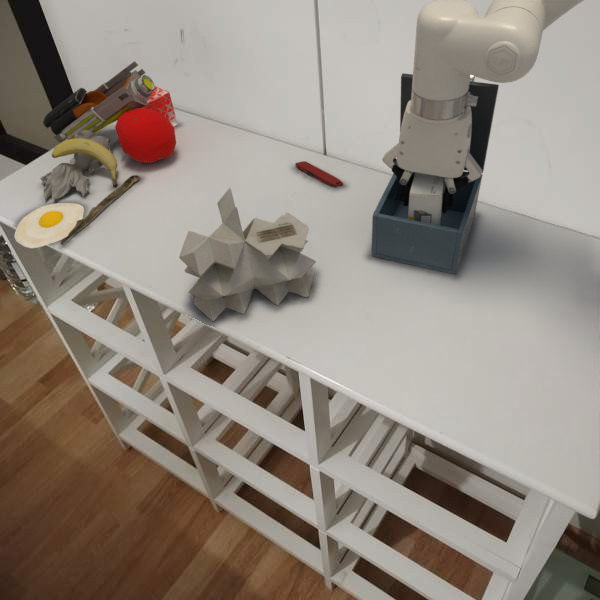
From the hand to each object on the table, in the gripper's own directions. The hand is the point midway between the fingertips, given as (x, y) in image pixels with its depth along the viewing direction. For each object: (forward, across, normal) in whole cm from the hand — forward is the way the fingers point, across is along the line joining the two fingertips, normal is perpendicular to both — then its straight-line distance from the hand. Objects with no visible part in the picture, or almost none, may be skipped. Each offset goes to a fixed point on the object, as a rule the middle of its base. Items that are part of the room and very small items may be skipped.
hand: (426, 203), depth 92 cm
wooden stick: (+8, +60, +10) cm, 61 cm away
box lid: (-9, 0, -8) cm, 12 cm away
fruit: (+4, +68, +1) cm, 68 cm away
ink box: (+7, 0, 0) cm, 7 cm away
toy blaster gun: (0, +71, -6) cm, 71 cm away
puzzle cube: (+4, +71, -20) cm, 74 cm away
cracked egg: (+8, +68, +17) cm, 70 cm away
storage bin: (+8, 0, -2) cm, 8 cm away
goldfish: (+10, +68, +2) cm, 69 cm away
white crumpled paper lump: (+3, +20, +24) cm, 31 cm away
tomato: (-2, +60, -8) cm, 61 cm away
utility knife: (+7, +24, -13) cm, 28 cm away
